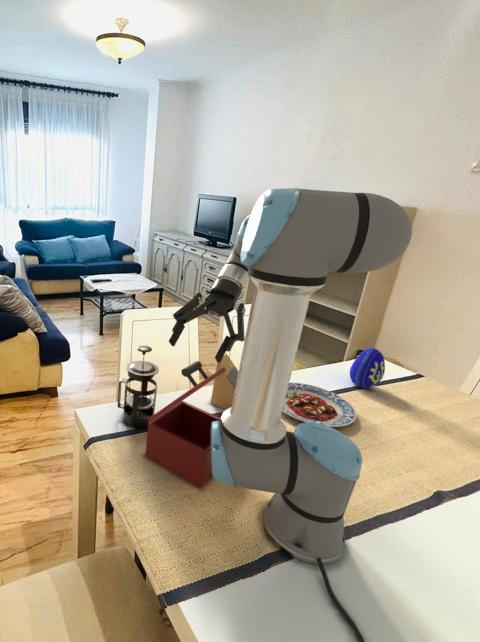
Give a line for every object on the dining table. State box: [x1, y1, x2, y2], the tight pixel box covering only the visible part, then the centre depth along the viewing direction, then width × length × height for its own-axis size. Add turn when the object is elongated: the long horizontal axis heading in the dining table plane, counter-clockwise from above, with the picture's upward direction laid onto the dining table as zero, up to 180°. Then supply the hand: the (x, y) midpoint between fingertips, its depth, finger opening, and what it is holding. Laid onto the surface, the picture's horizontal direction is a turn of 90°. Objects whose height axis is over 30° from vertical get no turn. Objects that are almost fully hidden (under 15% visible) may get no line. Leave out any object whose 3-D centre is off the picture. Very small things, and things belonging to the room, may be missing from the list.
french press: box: [117, 345, 160, 430], centre depth 108 cm, size 12×9×23 cm
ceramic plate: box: [282, 382, 357, 428], centre depth 123 cm, size 26×26×3 cm
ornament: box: [349, 347, 386, 390], centre depth 137 cm, size 11×9×15 cm
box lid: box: [148, 360, 226, 422], centre depth 94 cm, size 17×15×6 cm
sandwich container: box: [210, 352, 239, 410], centre depth 119 cm, size 9×15×15 cm, turn 58°
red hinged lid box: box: [144, 400, 221, 490], centre depth 96 cm, size 16×15×10 cm
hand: (193, 352), depth 98 cm, fingers open, 13 cm apart
